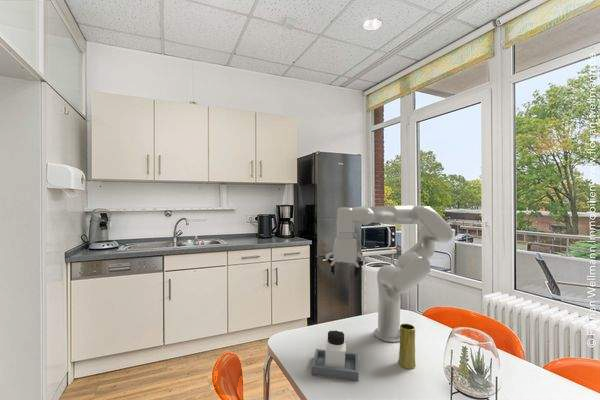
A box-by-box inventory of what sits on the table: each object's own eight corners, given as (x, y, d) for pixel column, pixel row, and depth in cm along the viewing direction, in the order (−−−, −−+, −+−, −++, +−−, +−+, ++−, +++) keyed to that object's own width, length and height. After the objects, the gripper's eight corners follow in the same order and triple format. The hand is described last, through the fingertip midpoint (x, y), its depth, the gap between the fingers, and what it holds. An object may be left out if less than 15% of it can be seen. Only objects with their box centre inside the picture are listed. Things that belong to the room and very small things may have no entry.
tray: (357, 361, 110) (357, 353, 109) (358, 381, 98) (358, 372, 98) (315, 356, 112) (316, 348, 112) (311, 375, 101) (311, 366, 101)
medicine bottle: (345, 371, 101) (346, 337, 101) (324, 369, 102) (325, 335, 102) (345, 360, 108) (345, 328, 108) (326, 358, 109) (326, 326, 109)
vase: (407, 371, 104) (408, 331, 104) (394, 362, 110) (395, 324, 109) (419, 366, 107) (420, 328, 107) (406, 358, 112) (406, 321, 112)
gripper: (365, 235, 128) (364, 274, 128) (326, 233, 131) (325, 271, 131) (366, 237, 121) (365, 278, 121) (324, 236, 124) (323, 275, 124)
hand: (344, 274), depth 126 cm, fingers open, 9 cm apart
